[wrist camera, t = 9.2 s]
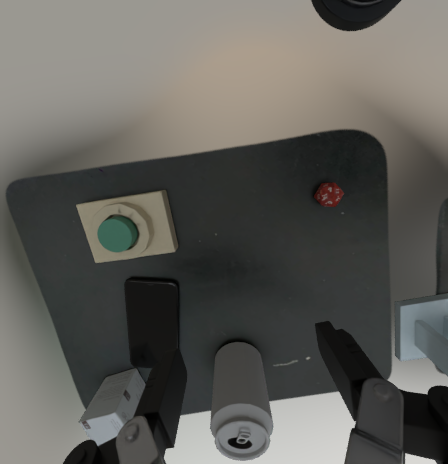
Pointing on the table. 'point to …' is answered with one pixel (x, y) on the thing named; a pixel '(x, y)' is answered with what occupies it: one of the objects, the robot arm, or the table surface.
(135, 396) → the white cardboard box
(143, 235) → the green push button box
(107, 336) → the table surface
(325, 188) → the die
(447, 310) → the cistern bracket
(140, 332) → the smartphone
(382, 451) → the robot arm
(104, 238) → the flush button
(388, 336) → the table surface
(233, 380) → the can
